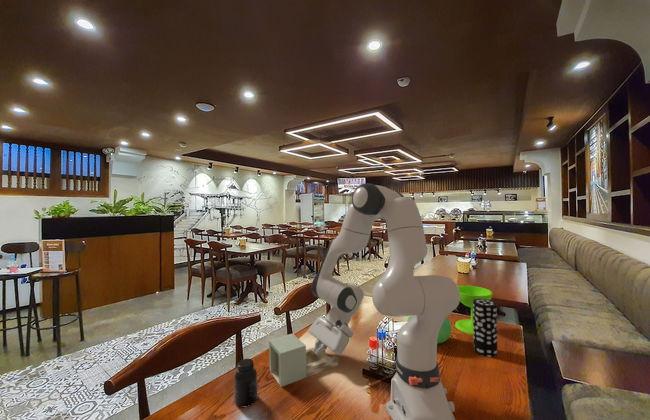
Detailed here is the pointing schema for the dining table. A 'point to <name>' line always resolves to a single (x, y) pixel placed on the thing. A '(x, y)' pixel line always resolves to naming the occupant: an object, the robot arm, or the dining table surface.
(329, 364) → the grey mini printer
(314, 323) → the robot arm
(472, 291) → the wineglass
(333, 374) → the dining table surface
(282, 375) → the pale sage box
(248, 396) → the supplement bottle
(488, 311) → the white-spotted black cylinder
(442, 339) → the gravy boat
